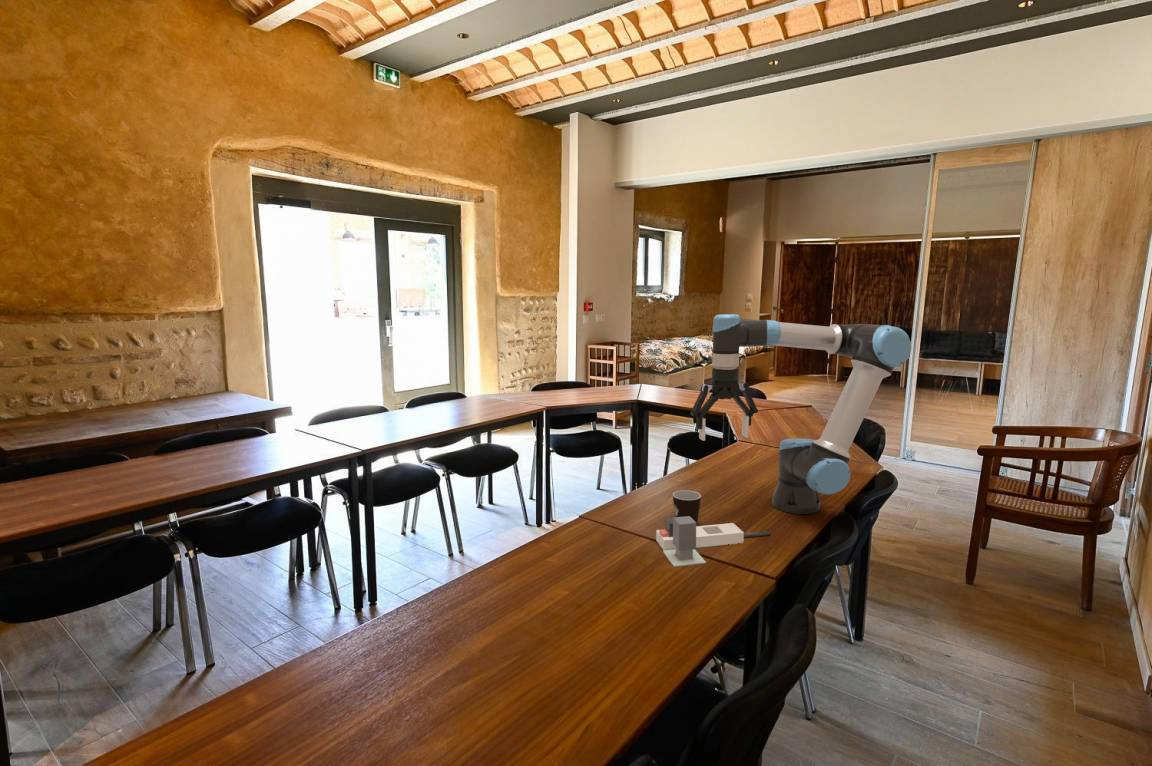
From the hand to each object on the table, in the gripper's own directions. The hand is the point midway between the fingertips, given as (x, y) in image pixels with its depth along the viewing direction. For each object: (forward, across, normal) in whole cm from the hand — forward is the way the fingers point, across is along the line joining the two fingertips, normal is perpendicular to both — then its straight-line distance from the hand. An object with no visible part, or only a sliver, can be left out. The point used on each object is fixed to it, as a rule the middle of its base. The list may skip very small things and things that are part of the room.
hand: (723, 438), depth 169 cm
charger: (+28, +18, +16) cm, 37 cm away
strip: (+29, +5, +7) cm, 30 cm away
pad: (+29, +18, +16) cm, 37 cm away
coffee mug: (+29, +9, -6) cm, 31 cm away
